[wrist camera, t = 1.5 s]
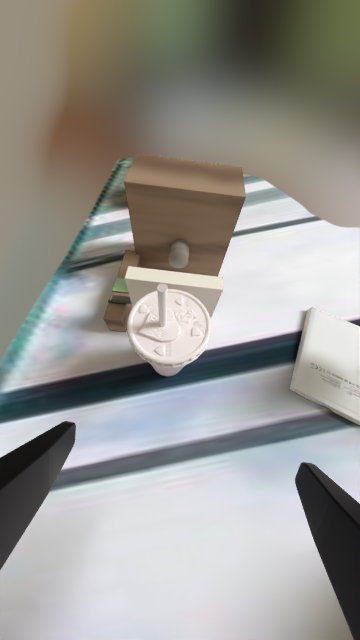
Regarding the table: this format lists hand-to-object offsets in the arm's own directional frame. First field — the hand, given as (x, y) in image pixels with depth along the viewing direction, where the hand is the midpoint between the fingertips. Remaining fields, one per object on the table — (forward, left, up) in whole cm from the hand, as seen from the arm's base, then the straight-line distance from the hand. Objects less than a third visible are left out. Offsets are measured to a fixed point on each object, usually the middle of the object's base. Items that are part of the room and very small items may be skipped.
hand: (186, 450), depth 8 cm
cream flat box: (+5, +12, -12) cm, 18 cm away
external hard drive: (+21, -3, -14) cm, 26 cm away
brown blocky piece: (+9, +17, -13) cm, 23 cm away
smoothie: (+3, +7, -14) cm, 16 cm away
